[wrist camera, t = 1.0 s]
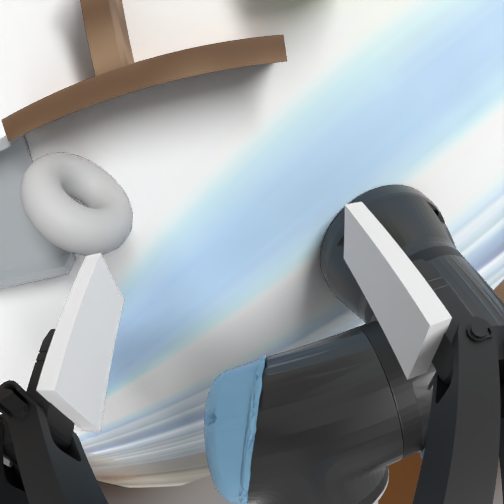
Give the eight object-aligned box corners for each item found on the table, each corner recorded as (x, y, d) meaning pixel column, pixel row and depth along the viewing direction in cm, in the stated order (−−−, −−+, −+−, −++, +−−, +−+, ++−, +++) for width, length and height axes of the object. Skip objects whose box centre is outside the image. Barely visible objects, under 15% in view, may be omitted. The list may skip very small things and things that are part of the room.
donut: (149, 192, 27) (128, 258, 19) (129, 218, 29) (104, 289, 20) (63, 131, 23) (4, 174, 15) (47, 161, 24) (-9, 214, 16)
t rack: (275, 60, 22) (289, 61, 18) (30, 128, 22) (3, 144, 18) (252, -69, 15) (262, -91, 11) (4, 12, 14) (-26, 11, 10)
